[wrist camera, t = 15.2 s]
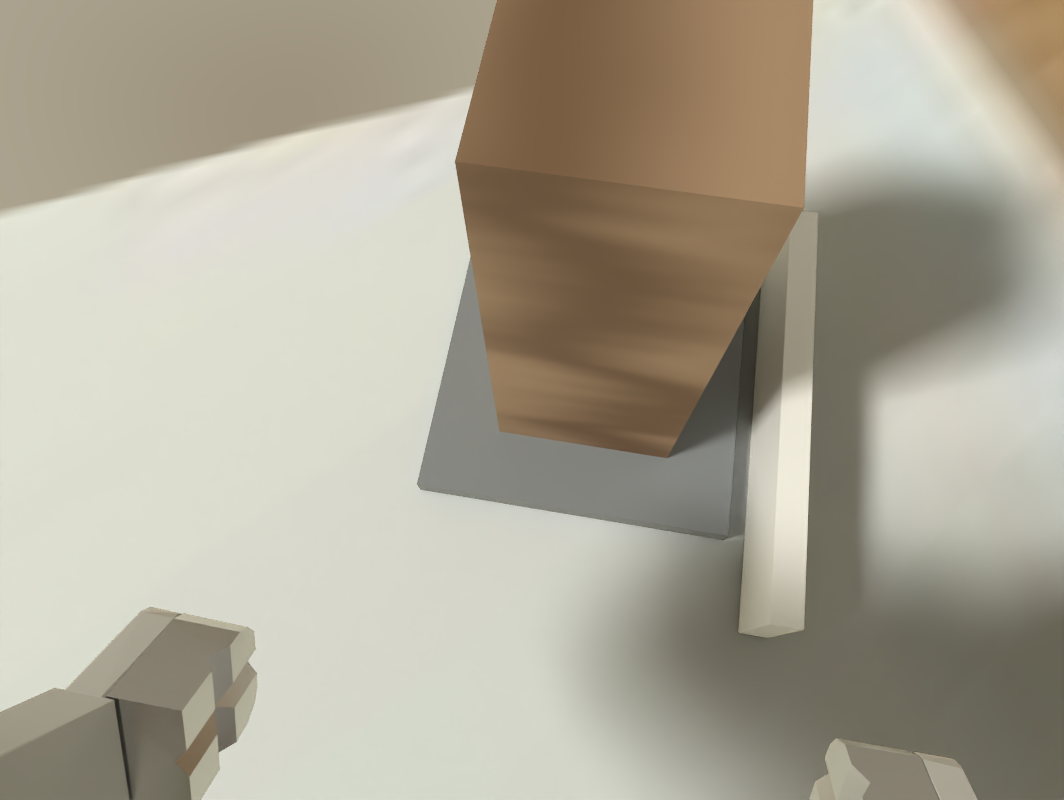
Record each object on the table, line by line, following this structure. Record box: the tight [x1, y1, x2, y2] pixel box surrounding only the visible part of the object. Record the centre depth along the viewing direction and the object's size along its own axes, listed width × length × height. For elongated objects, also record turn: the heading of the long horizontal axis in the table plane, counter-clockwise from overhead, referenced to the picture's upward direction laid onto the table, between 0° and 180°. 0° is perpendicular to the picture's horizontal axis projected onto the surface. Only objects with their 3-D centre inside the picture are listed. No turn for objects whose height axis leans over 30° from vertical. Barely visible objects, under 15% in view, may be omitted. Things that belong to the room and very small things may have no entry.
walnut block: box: [455, 0, 813, 458], centre depth 17 cm, size 5×5×12 cm
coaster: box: [417, 258, 744, 540], centre depth 23 cm, size 9×9×1 cm
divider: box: [738, 211, 818, 638], centre depth 21 cm, size 1×12×3 cm, turn 170°
